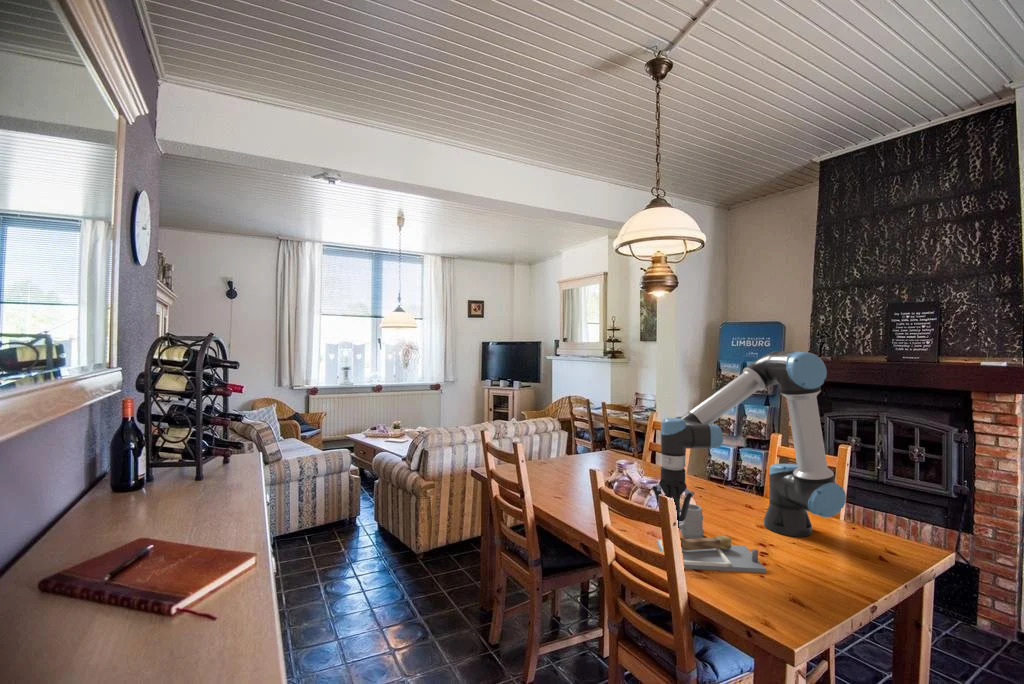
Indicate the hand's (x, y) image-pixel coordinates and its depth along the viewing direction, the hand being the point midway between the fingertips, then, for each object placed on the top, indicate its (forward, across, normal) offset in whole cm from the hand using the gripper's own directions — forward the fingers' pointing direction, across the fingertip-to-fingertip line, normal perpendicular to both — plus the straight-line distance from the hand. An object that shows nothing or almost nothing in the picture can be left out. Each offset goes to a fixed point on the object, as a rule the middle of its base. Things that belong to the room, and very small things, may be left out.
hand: (672, 540), depth 154 cm
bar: (+1, +9, +4) cm, 10 cm away
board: (+3, +10, +2) cm, 11 cm away
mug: (+4, 0, +15) cm, 16 cm away
